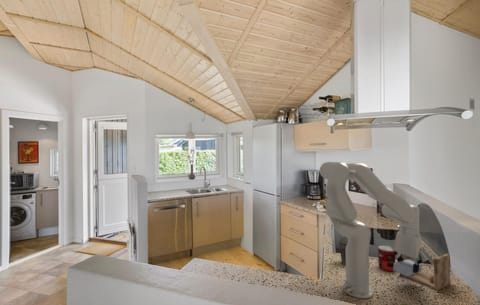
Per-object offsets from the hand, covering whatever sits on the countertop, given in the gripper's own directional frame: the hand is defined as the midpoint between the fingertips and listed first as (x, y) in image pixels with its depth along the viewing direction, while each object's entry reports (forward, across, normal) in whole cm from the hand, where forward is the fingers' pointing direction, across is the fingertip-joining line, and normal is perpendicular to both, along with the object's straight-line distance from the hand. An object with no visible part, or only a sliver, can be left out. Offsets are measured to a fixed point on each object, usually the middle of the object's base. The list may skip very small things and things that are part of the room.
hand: (407, 268), depth 115 cm
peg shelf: (+7, +1, +14) cm, 16 cm away
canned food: (+8, -15, +10) cm, 20 cm away
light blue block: (+1, 0, 0) cm, 1 cm away
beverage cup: (+9, -30, -4) cm, 32 cm away
